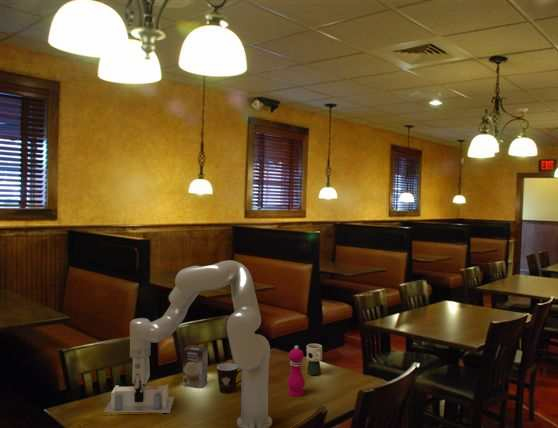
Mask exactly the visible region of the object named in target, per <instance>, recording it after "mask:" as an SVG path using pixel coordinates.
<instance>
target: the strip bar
mask: <svg viewBox="0 0 558 428" xmlns="http://www.w3.org/2000/svg"><path fill="white" fill-rule="evenodd" d="M139 386H140V385H139ZM140 387H141V386H140ZM134 392H135V386H127V387H122V386H120V385H116V384H115V386H114V387H113V390H112V391H111V394H110V398H111V399H110V401H111V409H113V408H115V407H116V395H122V407H127V406H154V395H155V394H160V406H163V407H166V405H167V402H168V397H169V384H165V385H144V386H143V402H135V397H134Z"/></svg>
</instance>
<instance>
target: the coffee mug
mask: <svg viewBox="0 0 558 428" xmlns="http://www.w3.org/2000/svg"><path fill="white" fill-rule="evenodd" d="M238 369H239V368H238V367H237V366H236V364H235V363H229V362H228V363H227V362H226V363H220V364H218V365H217V366H216V373H217V379H218V380H217V381H218V388H219V389H218V390H219V393H221V394H225V395H227V394H232V393H234V392H235V391H236V386H237V384H239V383H241V380H242V379H240V380H238V381H237V376H238V375H239V373H242V370H241V369H239V370H238Z"/></svg>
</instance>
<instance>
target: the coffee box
mask: <svg viewBox="0 0 558 428" xmlns="http://www.w3.org/2000/svg"><path fill="white" fill-rule="evenodd" d="M182 355H183V356H182V357H183V359H182V361H183V366H182V386H183V387H187V386H188V387H189V388H196V389H203V388H204V387H205V386H206V385H207V384H208V367H209V365H208V363H209V362H208V360H209V359H208V358H209V357H208V356H209V347H207V346H202V345H191V344H189V345H187V346H185V347H184V348H183V354H182Z"/></svg>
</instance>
